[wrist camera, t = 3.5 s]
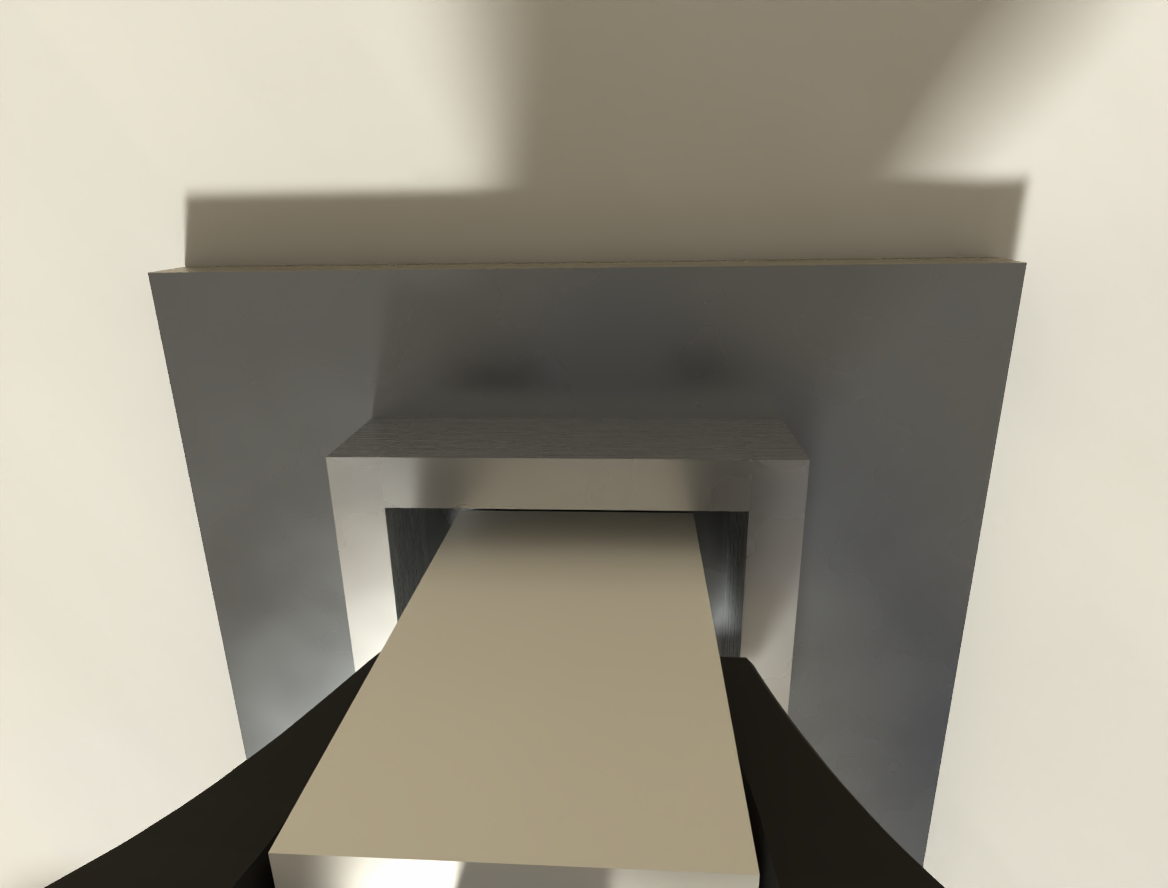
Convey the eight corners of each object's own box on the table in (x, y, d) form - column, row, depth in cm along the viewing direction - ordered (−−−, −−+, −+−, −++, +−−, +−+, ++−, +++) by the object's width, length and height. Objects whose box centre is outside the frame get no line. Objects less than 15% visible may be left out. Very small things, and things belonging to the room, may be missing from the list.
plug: (693, 513, 12) (778, 978, 5) (686, 709, 14) (747, 1310, 6) (459, 510, 13) (215, 946, 5) (474, 703, 14) (294, 1272, 7)
